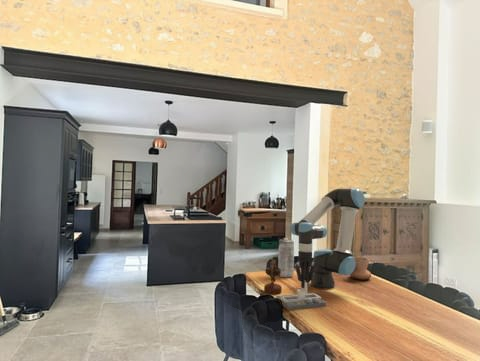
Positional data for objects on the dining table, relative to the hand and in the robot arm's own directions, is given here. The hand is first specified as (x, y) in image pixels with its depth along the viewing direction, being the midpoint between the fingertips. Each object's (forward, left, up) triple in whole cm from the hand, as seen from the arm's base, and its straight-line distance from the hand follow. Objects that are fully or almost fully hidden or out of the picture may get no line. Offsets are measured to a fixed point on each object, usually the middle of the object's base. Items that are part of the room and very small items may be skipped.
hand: (304, 293), depth 172 cm
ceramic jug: (-61, -32, -5) cm, 70 cm away
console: (+3, 0, -5) cm, 5 cm away
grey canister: (-14, -51, -5) cm, 53 cm away
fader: (+2, 0, -2) cm, 3 cm away
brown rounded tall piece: (+9, -22, -5) cm, 25 cm away
